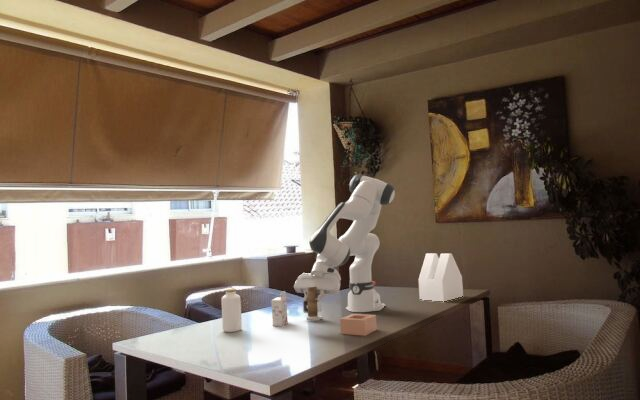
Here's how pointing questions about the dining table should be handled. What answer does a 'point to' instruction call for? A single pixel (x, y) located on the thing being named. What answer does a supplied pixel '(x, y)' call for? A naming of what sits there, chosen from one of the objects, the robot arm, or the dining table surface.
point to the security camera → (305, 310)
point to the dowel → (312, 301)
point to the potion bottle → (231, 311)
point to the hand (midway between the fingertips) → (311, 300)
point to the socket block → (358, 324)
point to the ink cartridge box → (279, 310)
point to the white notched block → (440, 278)
